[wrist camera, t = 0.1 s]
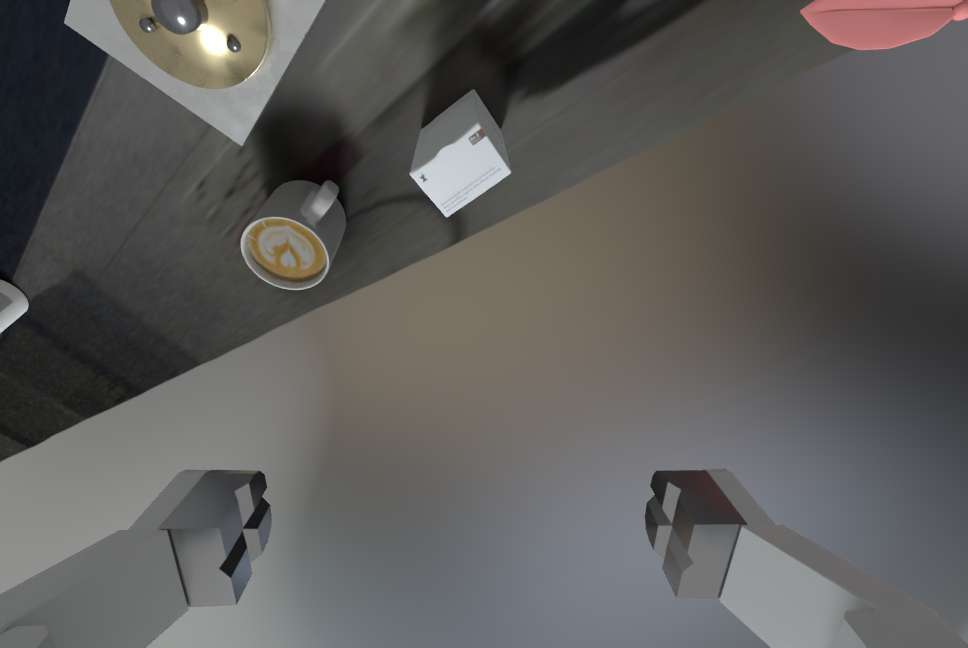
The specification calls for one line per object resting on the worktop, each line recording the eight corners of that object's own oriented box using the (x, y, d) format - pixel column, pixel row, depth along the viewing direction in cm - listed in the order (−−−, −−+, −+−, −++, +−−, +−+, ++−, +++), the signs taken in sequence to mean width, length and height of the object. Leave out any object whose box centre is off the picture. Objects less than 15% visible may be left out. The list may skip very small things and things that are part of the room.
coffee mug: (312, 260, 66) (292, 303, 58) (252, 209, 61) (221, 248, 53) (380, 208, 61) (368, 247, 53) (322, 147, 56) (299, 180, 48)
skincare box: (448, 168, 58) (444, 223, 46) (417, 127, 55) (404, 176, 43) (504, 128, 55) (514, 177, 44) (475, 82, 52) (478, 122, 40)
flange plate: (184, 104, 50) (161, 117, 46) (75, -55, 42) (35, -54, 38) (314, 52, 47) (300, 62, 44) (225, -129, 39) (199, -136, 35)
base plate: (142, -196, 38) (89, -218, 32) (336, -14, 46) (319, -8, 40) (77, 20, 47) (26, 30, 42) (248, 140, 55) (224, 162, 50)
